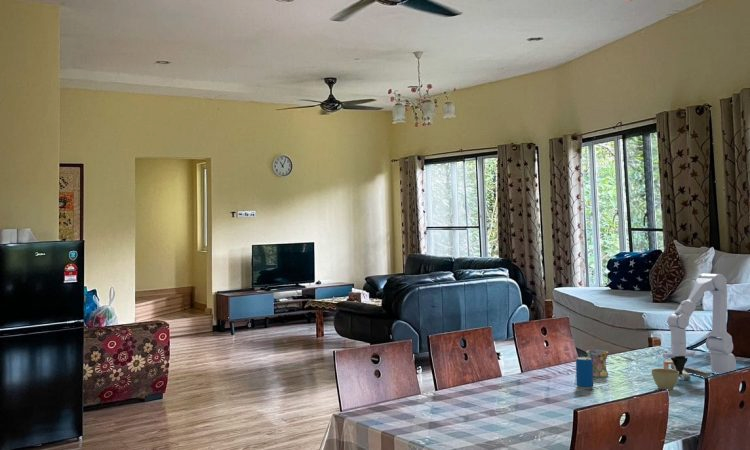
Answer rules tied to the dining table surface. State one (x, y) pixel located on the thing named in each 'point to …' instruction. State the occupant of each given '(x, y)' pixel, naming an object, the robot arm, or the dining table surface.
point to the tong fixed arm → (693, 371)
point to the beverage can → (584, 372)
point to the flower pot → (665, 378)
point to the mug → (598, 362)
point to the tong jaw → (685, 375)
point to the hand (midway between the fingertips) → (679, 374)
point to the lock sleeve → (667, 364)
